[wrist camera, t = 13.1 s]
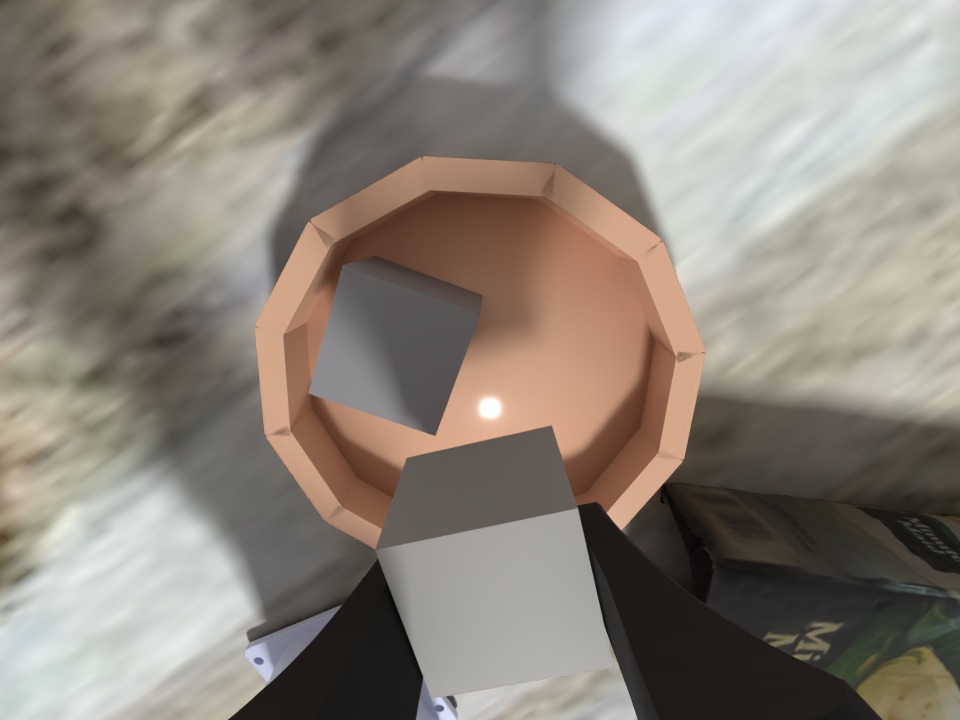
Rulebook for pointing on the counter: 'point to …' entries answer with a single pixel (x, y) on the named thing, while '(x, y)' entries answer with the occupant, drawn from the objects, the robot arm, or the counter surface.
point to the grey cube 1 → (395, 343)
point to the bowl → (493, 336)
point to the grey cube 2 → (492, 566)
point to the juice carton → (835, 589)
